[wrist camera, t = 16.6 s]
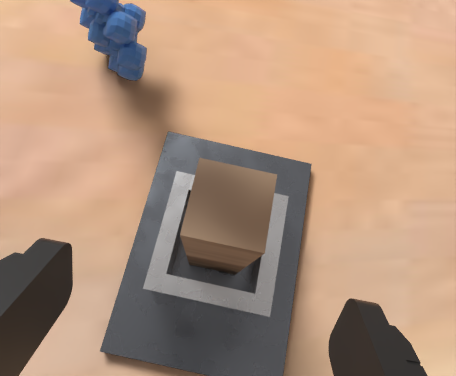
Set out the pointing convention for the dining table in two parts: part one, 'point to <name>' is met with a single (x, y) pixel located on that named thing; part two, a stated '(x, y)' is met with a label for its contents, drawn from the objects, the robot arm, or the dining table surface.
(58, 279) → the robot arm
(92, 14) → the grapes
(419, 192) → the dining table surface
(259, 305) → the keeper cradle
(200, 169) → the walnut post
